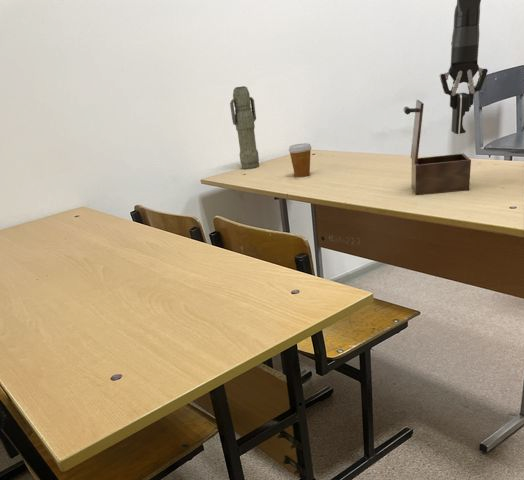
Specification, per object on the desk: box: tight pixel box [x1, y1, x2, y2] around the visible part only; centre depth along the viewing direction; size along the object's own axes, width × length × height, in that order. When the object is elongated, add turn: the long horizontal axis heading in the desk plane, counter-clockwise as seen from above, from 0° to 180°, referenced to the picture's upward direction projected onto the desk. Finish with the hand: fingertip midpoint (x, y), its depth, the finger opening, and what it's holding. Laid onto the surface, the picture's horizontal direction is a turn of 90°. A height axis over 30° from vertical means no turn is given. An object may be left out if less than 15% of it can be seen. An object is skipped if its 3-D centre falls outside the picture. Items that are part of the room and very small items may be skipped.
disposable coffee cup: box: [288, 142, 312, 178], centre depth 221 cm, size 10×10×12 cm
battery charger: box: [451, 92, 471, 135], centre depth 164 cm, size 7×4×11 cm, turn 176°
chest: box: [410, 152, 472, 196], centre depth 175 cm, size 17×12×9 cm
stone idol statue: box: [229, 85, 260, 170], centre depth 247 cm, size 9×12×35 cm
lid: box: [402, 99, 425, 164], centre depth 170 cm, size 18×12×5 cm
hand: (461, 107), depth 163 cm, fingers closed on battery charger, 4 cm apart
